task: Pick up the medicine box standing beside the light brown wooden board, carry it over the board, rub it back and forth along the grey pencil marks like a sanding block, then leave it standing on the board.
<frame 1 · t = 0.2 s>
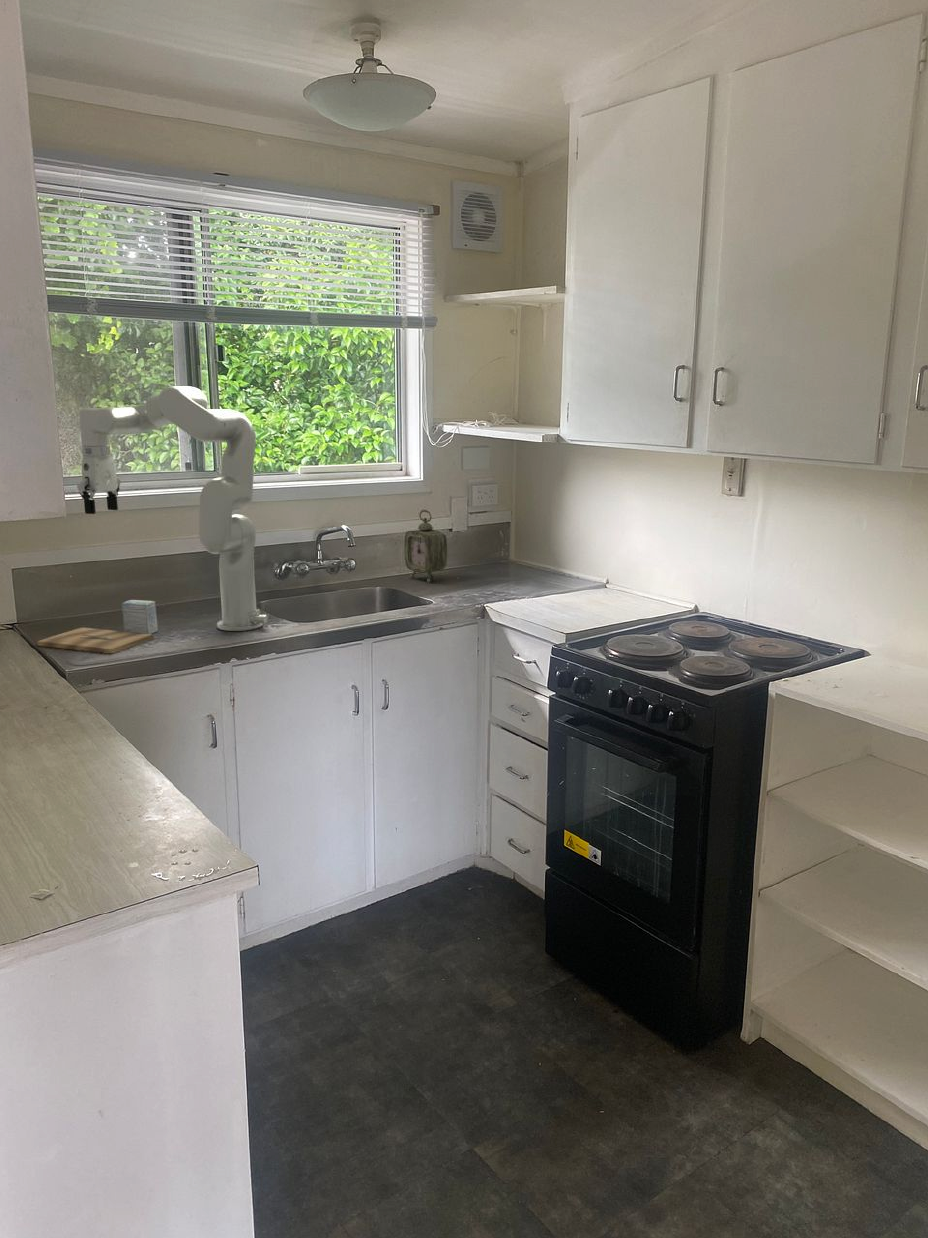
hand: (101, 511, 270), 31 cm above the counter, fingers open, 9 cm apart
light brown wooden board: (96, 642, 245), on the counter
medicine box: (141, 633, 256), on the counter
tabletop clock: (426, 580, 330), on the counter
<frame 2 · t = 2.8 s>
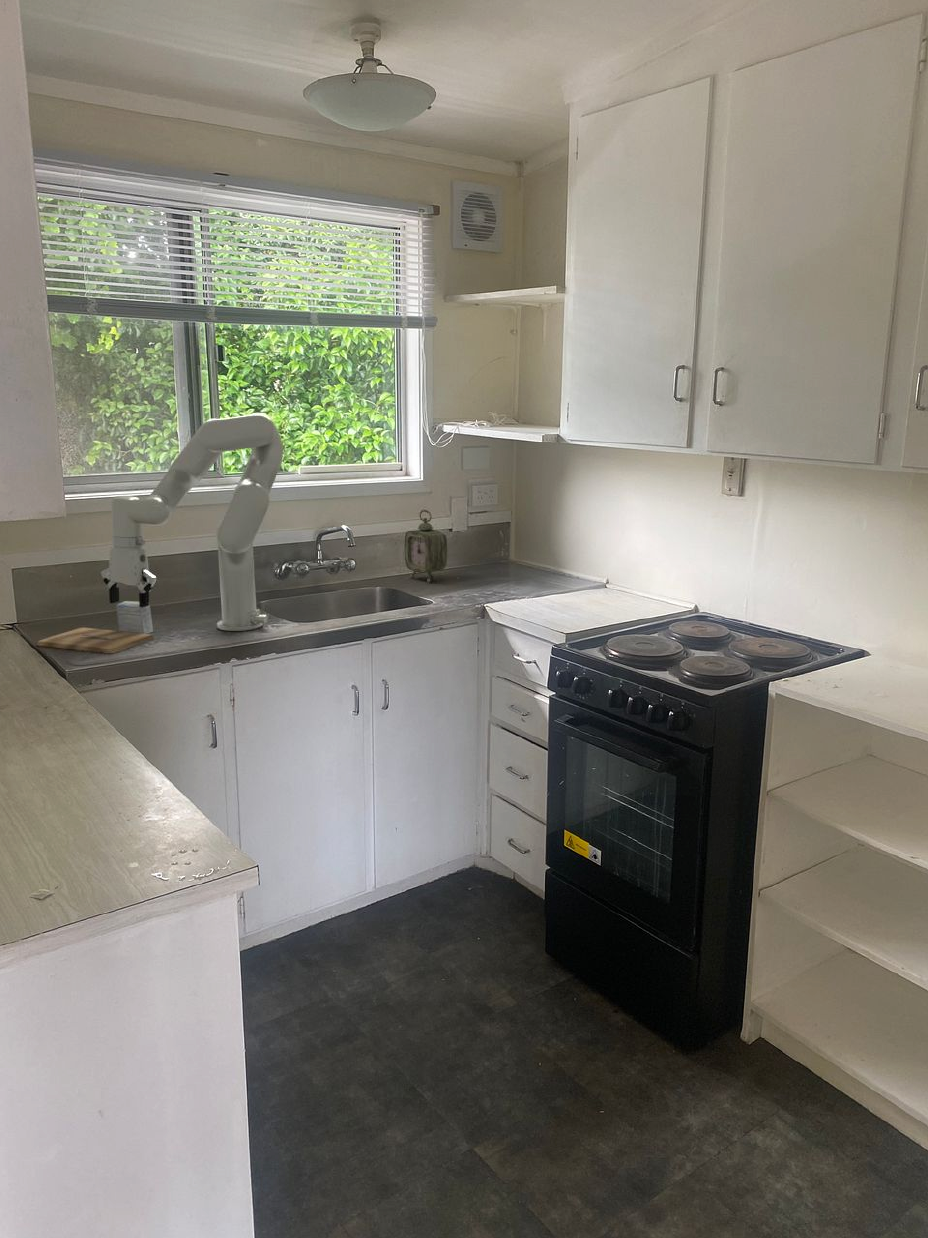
hand: (129, 604, 253), 8 cm above the counter, fingers open, 9 cm apart
medicine box: (136, 634, 256), on the counter, touching gripper
everything else where it was.
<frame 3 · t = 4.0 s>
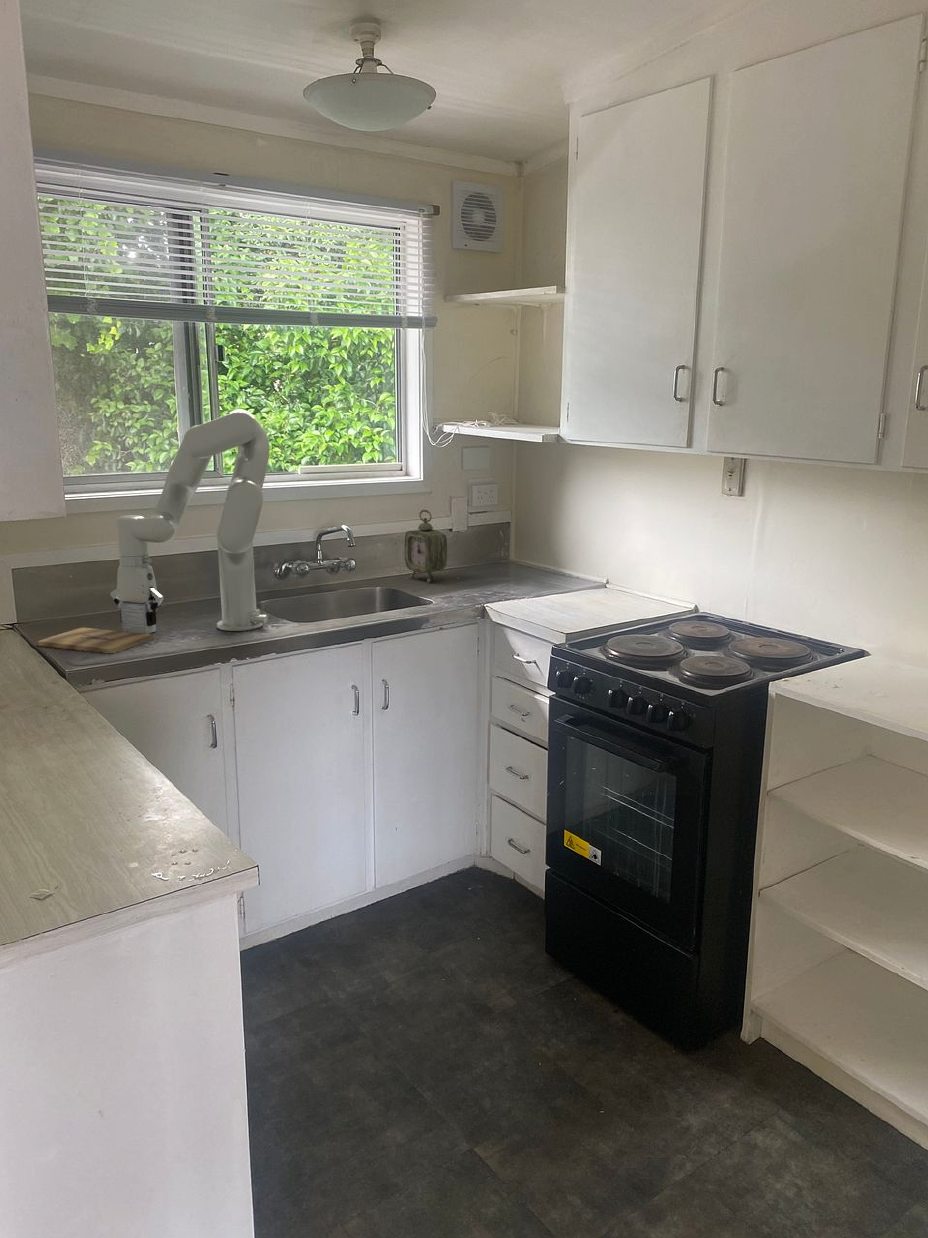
hand: (138, 623, 255), 2 cm above the counter, fingers closed on medicine box, 8 cm apart
medicine box: (139, 633, 256), on the counter, touching gripper
everything else where it was.
when the fingers open (4 cm above the counter, at t = 16.7 s): medicine box stays where it is, resting on light brown wooden board.
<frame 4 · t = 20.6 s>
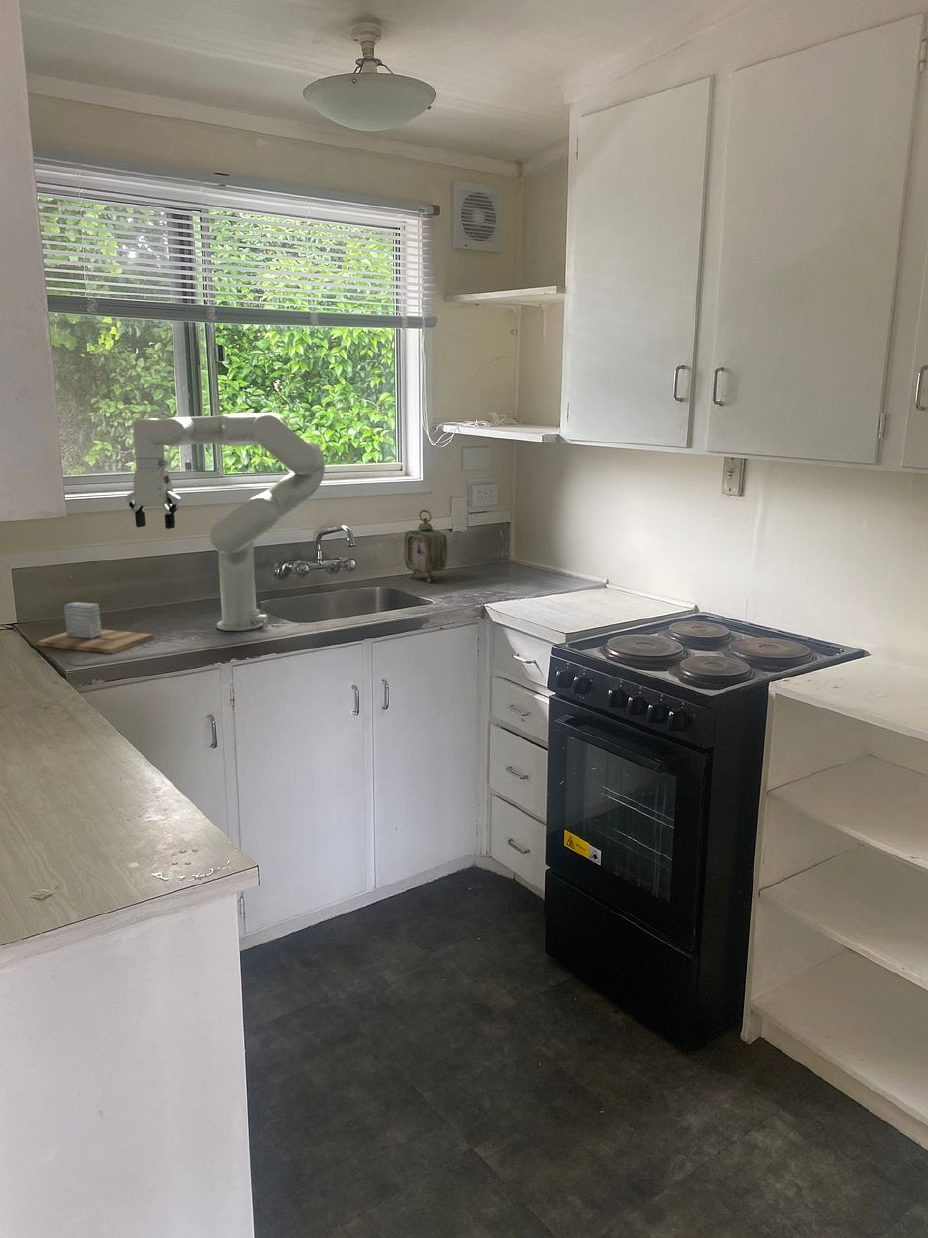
hand: (155, 527, 255), 28 cm above the counter, fingers open, 9 cm apart
medicine box: (84, 636, 246), point 1 cm above the counter, touching light brown wooden board
everything else where it was.
at the end: medicine box inside the target area on the light brown wooden board (3.9 cm from its centre), point 1.1 cm above the light brown wooden board's base; medicine box tilted 0°; the gripper is holding nothing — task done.
